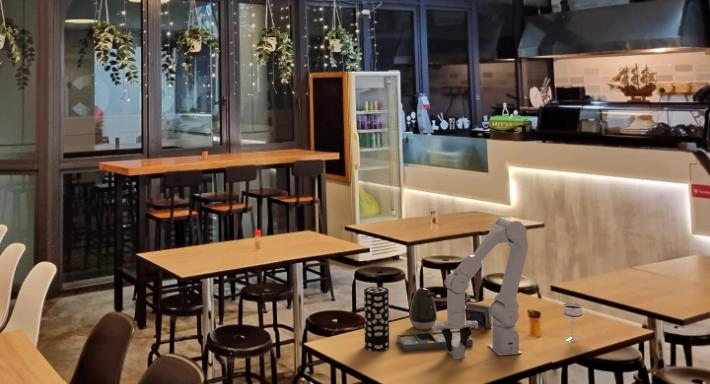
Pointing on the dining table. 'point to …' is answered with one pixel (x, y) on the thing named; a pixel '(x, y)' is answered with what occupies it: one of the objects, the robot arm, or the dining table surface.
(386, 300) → the spotted tube
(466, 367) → the dining table surface
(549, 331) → the dining table surface
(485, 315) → the electrical switch
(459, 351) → the grey rectangular block
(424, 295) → the dark egg shaped ornament
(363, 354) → the dining table surface
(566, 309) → the wineglass
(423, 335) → the rack
